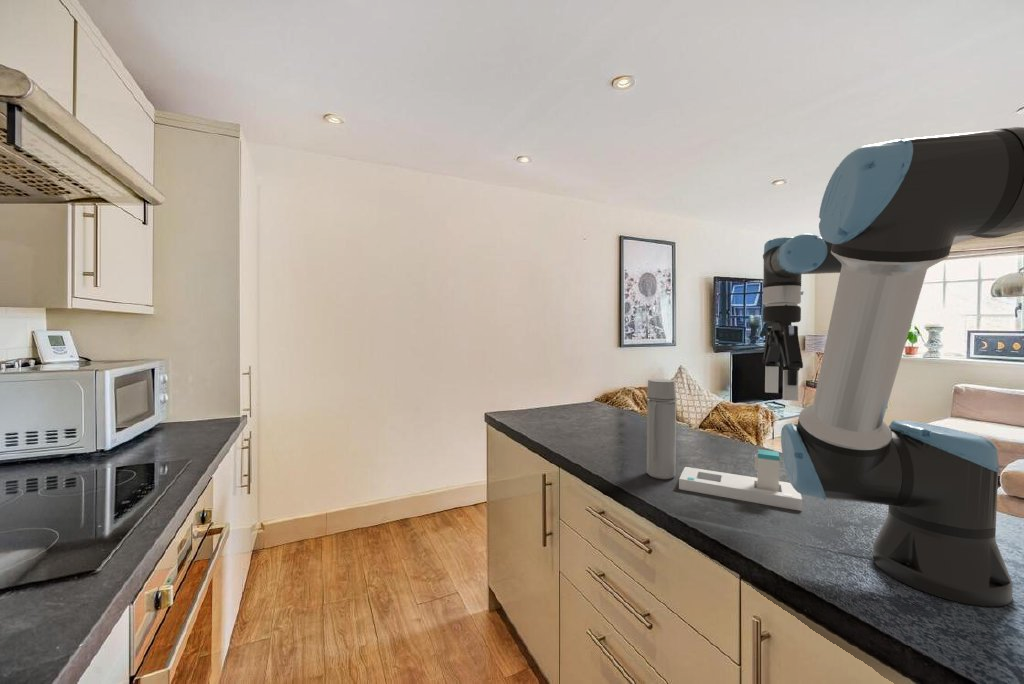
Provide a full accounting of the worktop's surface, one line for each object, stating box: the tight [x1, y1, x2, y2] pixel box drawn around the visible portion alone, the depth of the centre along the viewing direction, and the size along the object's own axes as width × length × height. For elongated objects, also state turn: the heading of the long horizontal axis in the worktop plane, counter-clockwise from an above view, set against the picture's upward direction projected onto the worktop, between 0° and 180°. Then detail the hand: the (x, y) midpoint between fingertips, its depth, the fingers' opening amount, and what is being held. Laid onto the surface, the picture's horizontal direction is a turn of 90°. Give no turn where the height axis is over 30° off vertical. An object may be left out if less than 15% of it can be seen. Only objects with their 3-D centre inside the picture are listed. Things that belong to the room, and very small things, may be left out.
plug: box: [754, 449, 780, 492], centre depth 94 cm, size 4×5×10 cm
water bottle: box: [645, 378, 678, 480], centre depth 109 cm, size 9×8×25 cm
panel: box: [678, 466, 803, 512], centre depth 97 cm, size 10×24×3 cm, turn 60°
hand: (780, 396), depth 98 cm, fingers open, 13 cm apart
